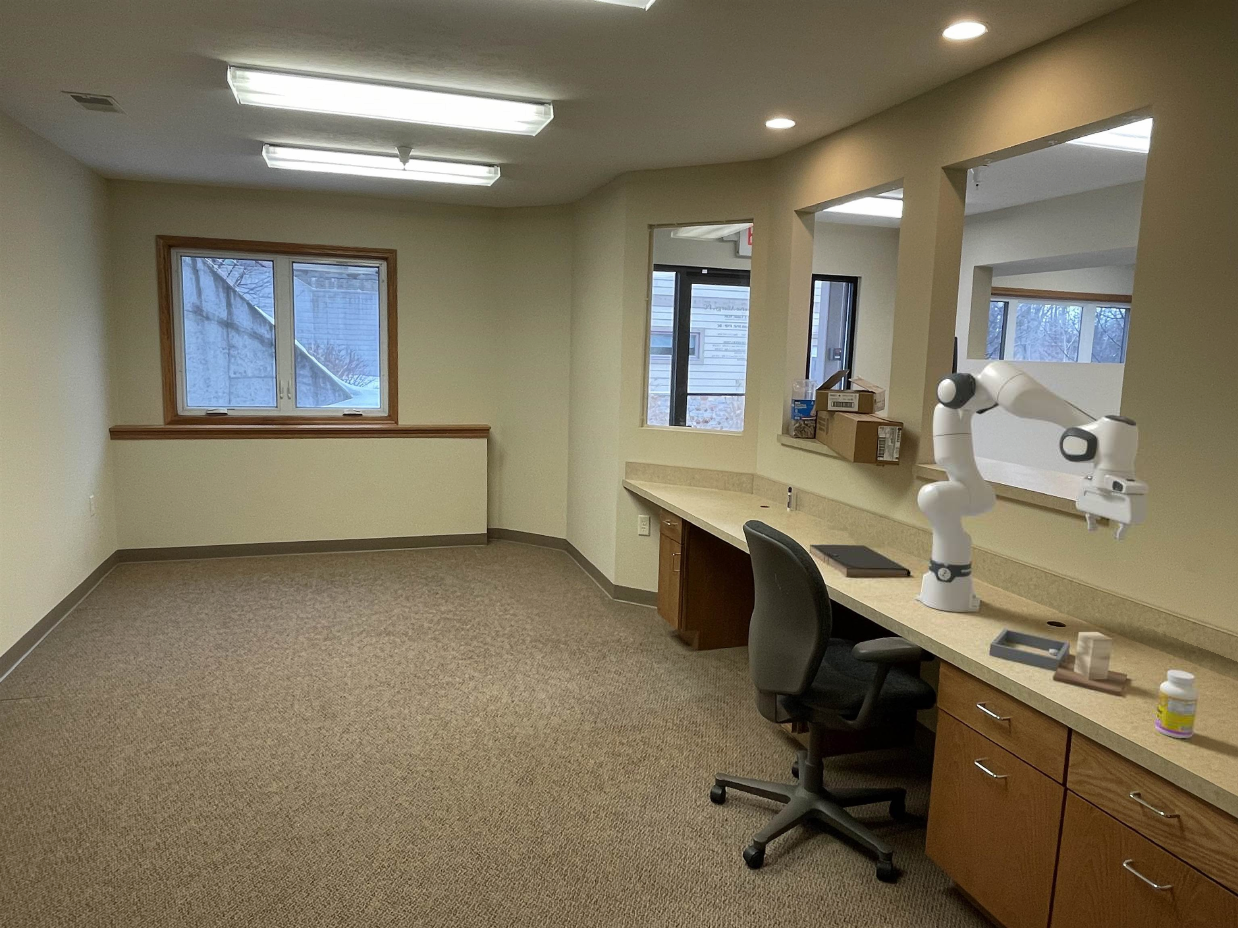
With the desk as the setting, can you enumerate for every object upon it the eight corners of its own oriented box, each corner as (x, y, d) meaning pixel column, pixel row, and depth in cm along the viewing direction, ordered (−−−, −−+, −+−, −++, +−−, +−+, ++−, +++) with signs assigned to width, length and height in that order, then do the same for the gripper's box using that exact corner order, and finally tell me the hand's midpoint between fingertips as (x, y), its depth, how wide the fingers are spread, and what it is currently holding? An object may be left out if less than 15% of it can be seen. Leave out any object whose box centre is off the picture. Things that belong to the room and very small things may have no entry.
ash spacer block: (1073, 671, 202) (1078, 632, 200) (1092, 670, 202) (1097, 631, 201) (1088, 679, 197) (1093, 639, 195) (1107, 678, 197) (1112, 639, 196)
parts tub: (1003, 639, 226) (1004, 628, 225) (1068, 653, 216) (1070, 642, 216) (989, 654, 213) (990, 643, 213) (1057, 671, 204) (1059, 659, 203)
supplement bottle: (1156, 722, 177) (1164, 665, 175) (1193, 732, 173) (1202, 673, 171) (1152, 732, 172) (1160, 673, 170) (1190, 743, 168) (1199, 683, 166)
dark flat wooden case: (809, 543, 314) (868, 544, 318) (808, 554, 315) (867, 555, 319) (846, 566, 282) (911, 567, 286) (844, 578, 283) (910, 579, 287)
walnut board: (1062, 663, 209) (1063, 659, 209) (1126, 678, 201) (1127, 674, 201) (1052, 679, 198) (1053, 675, 198) (1120, 696, 190) (1120, 692, 190)
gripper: (1072, 474, 216) (1066, 525, 218) (1131, 487, 196) (1123, 544, 198) (1094, 474, 217) (1088, 525, 219) (1154, 488, 197) (1147, 544, 198)
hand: (1105, 534), depth 208 cm, fingers open, 8 cm apart
